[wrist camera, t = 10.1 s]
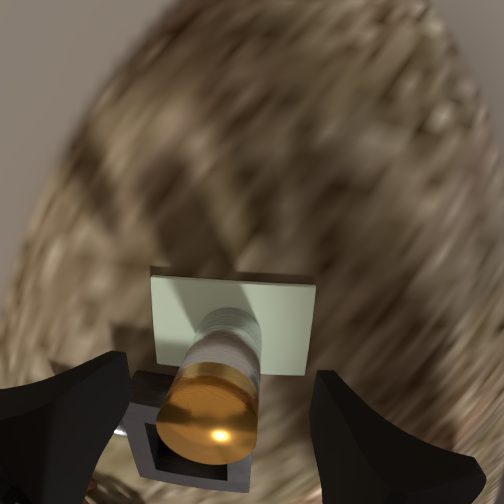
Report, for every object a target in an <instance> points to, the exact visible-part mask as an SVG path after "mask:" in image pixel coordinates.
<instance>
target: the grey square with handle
mask: <svg viewBox="0 0 504 504" xmlns="http://www.w3.org/2000/svg"><path fill="white" fill-rule="evenodd" d="M174 379H175V376H170V375H163V374H156V373H150V372H144V371H138V370H137V371H136V373H135V374H134V376H133V377H132V379H131V380H130V381H131V387H132V392H133V395H132V398H131V400H130V403H129V406H128V408H127V410H126V413H125V415H124V417H123V418H122V420H121V422H120V423H119V425H118V427H117V429H116V430H115V432H114V434H115V435H119V436H123V437H127V438H128V441H129V444H130V447H131V451H132V454H133V457H134V460H135V463H136V466H137V469H138V472H139V475H140V477H144V478H148V479H153V480H157V481H162V482H167V483H172V484H177V485H183V486H189V487H196V488H203V489H210V490H219V491H229V492H241V493H249V485H250V473H251V460H252V452H251V453H250V454H249V455H247V456H246V457H245V458H243V459H241V460H239V461H236V462H233V463H229V464H221V465H212V464H204V463H199V462H195V461H192V460H189V459H187V458H185V457H183V456H181V455H179V454H177V453H176V452H174V451H173V450H172V449H170V448H169V447H168V446H167V445H166V444H165V443H164V442H163V440H162V439H161V437H160V436H159V433H158V431H157V428H156V418H157V415H158V413H159V411H160V408H161V406H162V404H163V402H164V400H165V398H166V396H167V393H168V391H169V389H170V387H171V385H172V383H173V381H174Z"/></svg>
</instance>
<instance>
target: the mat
mask: <svg viewBox="0 0 504 504" xmlns="http://www.w3.org/2000/svg"><path fill="white" fill-rule="evenodd" d="M315 293H316V286H315V285H307V284H286V283H267V282H249V281H232V280H217V279H202V278H188V277H174V276H161V275H153V276H151V295H152V311H153V324H154V336H155V347H156V357H157V364H164V365H171V366H179V367H180V366H181V364H182V362H183V360H184V357H185V355H186V353H187V351H188V349H189V347H190V345H191V343H192V341H193V339H194V336H195V334H196V332H197V330H198V328H199V326H200V324H201V322H202V320H203V319H204V317H205V316H206V315H207V314H209V313H210V312H212V311H214V310H216V309H219V308H224V307H232V308H238V309H241V310H243V311H245V312H247V313H249V314H250V315H251V316H253V317H254V318H255V320H256V321H257V322H258V324H259V326H260V328H261V331H262V353H261V372H260V374H271V375H305V369H306V363H307V356H308V349H309V342H310V334H311V326H312V319H313V310H314V302H315Z"/></svg>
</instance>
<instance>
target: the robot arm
mask: <svg viewBox="0 0 504 504" xmlns="http://www.w3.org/2000/svg"><path fill="white" fill-rule="evenodd" d="M132 395H133V392H132V387H131V381H130V375H129V369H128V363H127V356H126V353H124V352H118V351H113V350H112V351H110V352H107V353H105V354H102V355H100V356H98V357H96V358H94V359H92V360H89V361H87V362H85V363H83V364H81V365H79V366H77V367H75V368H72V369H70V370H68V371H65V372H63V373H60V374H58V375H56V376H53V377H50V378H48V379H45V380H42V381H38V382H35V383H31V384H27V385H23V386H17V387H12V388H6V389H0V504H83V501H84V497H85V494H86V491H87V488H88V485H89V482H90V480H91V477H92V474H93V472H94V469H95V467H96V465H97V462H98V460H99V458H100V456H101V454H102V452H103V450H104V449H105V447H106V445H107V444H108V442H109V440H110V439H111V437H112V435H113V434H114V432H115V430H116V429H117V427H118V425H119V423H120V422H121V420H122V418H123V417H124V415H125V413H126V410H127V408H128V406H129V403H130V400H131V398H132ZM309 414H310V429H311V437H312V442H313V447H314V452H315V457H316V461H317V466H318V471H319V476H320V481H321V488H322V502H323V504H472V503H473V501H474V500H475V499H476V498H477V497H478V495H479V494H480V493H481V491H482V490H483V488H484V486H485V483H486V481H487V480H486V476H485V474H484V472H483V471H482V469H481V467H480V466H479V464H478V463H477V461H476V459H475V458H474V457H470V456H466V455H462V454H458V453H454V452H450V451H447V450H444V449H441V448H439V447H436V446H433V445H431V444H428V443H426V442H424V441H422V440H420V439H418V438H416V437H414V436H412V435H410V434H408V433H406V432H404V431H403V430H401V429H399V428H398V427H396V426H395V425H393V424H392V423H390V422H389V421H387V420H386V419H384V418H383V417H382V416H380V415H379V414H378V413H377V412H375V411H374V410H373V409H372V408H371V407H369V406H368V405H367V404H366V403H365V402H364V401H363V400H362V399H361V398H360V397H359V396H358V395H357V394H356V393H355V392H354V391H353V390H352V389H351V388H350V387H349V386H348V385H347V384H346V383H345V382H344V381H343V380H342V379H341V378H340V377H339V376H338V375H337V374H336V372H335V371H334V370H317V374H316V379H315V385H314V390H313V396H312V401H311V406H310V411H309Z"/></svg>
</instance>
